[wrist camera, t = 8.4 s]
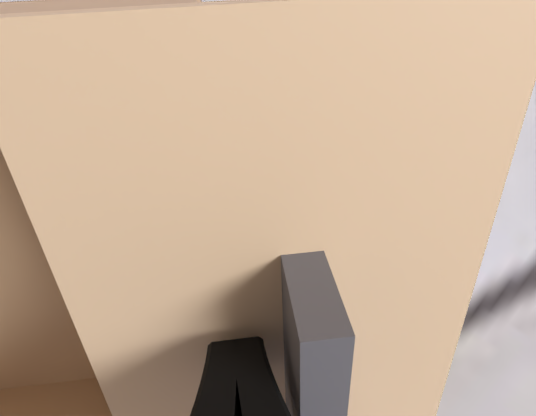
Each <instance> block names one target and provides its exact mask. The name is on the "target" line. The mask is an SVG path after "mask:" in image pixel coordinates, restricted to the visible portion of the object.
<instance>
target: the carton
mask: <svg viewBox="0 0 536 416" xmlns="http://www.w3.org/2000/svg"><path fill="white" fill-rule="evenodd" d="M194 2H201V0H34V1H17V2H0V14H7V13H24V12H41V11H58V10H75V9H92V8H109V7H126V6H143V5H160V4H177V3H194ZM0 416H112V414H111V412H110V409H109V407H108V404H107V402H106V400H105V397H104V395H103V392H102V390H101V388H100V385H99V383H98V380H97V378H96V376H95V373H94V371H93V369H92V366H91V364H90V361H89V359H88V357H87V354H86V352H85V349H84V347H83V345H82V342H81V340H80V337H79V335H78V333H77V330H76V328H75V325H74V323H73V321H72V318H71V316H70V314H69V311H68V309H67V306H66V304H65V302H64V299H63V297H62V294H61V292H60V290H59V287H58V285H57V282H56V280H55V278H54V275H53V273H52V270H51V268H50V266H49V263H48V261H47V259H46V256H45V254H44V251H43V249H42V247H41V244H40V242H39V239H38V237H37V235H36V232H35V230H34V227H33V225H32V223H31V220H30V218H29V215H28V213H27V211H26V208H25V206H24V204H23V201H22V199H21V196H20V194H19V192H18V189H17V187H16V184H15V182H14V180H13V177H12V175H11V172H10V170H9V168H8V165H7V163H6V160H5V158H4V156H3V153H2V151H1V149H0Z"/></svg>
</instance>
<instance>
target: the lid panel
mask: <svg viewBox="0 0 536 416" xmlns="http://www.w3.org/2000/svg"><path fill="white" fill-rule="evenodd" d="M535 81H536V0H227V1H210V2H194V3H177V4H160V5H143V6H126V7H109V8H92V9H75V10H58V11H41V12H24V13H7V14H0V149H1V151H2V153H3V156H4V158H5V160H6V163H7V165H8V168H9V170H10V172H11V175H12V177H13V180H14V182H15V184H16V187H17V189H18V192H19V194H20V196H21V199H22V201H23V204H24V206H25V208H26V211H27V213H28V215H29V218H30V220H31V223H32V225H33V227H34V230H35V232H36V235H37V237H38V239H39V242H40V244H41V247H42V249H43V251H44V254H45V256H46V259H47V261H48V263H49V266H50V268H51V270H52V273H53V275H54V278H55V280H56V282H57V285H58V287H59V290H60V292H61V294H62V297H63V299H64V302H65V304H66V306H67V309H68V311H69V314H70V316H71V318H72V321H73V323H74V325H75V328H76V330H77V333H78V335H79V337H80V340H81V342H82V345H83V347H84V349H85V352H86V354H87V357H88V359H89V361H90V364H91V366H92V369H93V371H94V373H95V376H96V378H97V380H98V383H99V385H100V388H101V390H102V392H103V395H104V397H105V400H106V402H107V404H108V407H109V409H110V412H111V414H112V416H190V414H191V411H192V408H193V405H194V402H195V399H196V395H197V392H198V388H199V385H200V381H201V377H202V373H203V369H204V365H205V360H206V355H207V348H208V345H209V344H210V343H211V342H215V341H223V340H231V339H240V338H248V337H256V336H259V337H261V338H262V339H263V341H264V346H265V350H266V354H267V357H268V360H269V364H270V366H271V369H272V372H273V375H274V377H275V380H276V382H277V385H278V387H279V390H280V392H281V394H282V397H283V399H284V401H285V403H286V405H287V407H288V410H289V412H290V414H291V416H436V414H437V410H438V407H439V403H440V400H441V397H442V393H443V390H444V387H445V383H446V380H447V377H448V373H449V370H450V366H451V363H452V360H453V356H454V353H455V350H456V346H457V343H458V340H459V336H460V333H461V329H462V326H463V323H464V319H465V316H466V313H467V309H468V306H469V303H470V299H471V296H472V292H473V289H474V286H475V282H476V279H477V276H478V272H479V269H480V266H481V262H482V259H483V255H484V252H485V249H486V245H487V242H488V239H489V235H490V232H491V229H492V225H493V222H494V218H495V215H496V212H497V208H498V205H499V202H500V198H501V195H502V192H503V188H504V185H505V181H506V178H507V175H508V171H509V168H510V165H511V161H512V158H513V155H514V151H515V148H516V144H517V141H518V138H519V134H520V131H521V128H522V124H523V121H524V118H525V114H526V111H527V107H528V104H529V101H530V97H531V94H532V91H533V87H534V84H535Z"/></svg>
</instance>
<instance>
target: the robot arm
mask: <svg viewBox="0 0 536 416" xmlns="http://www.w3.org/2000/svg"><path fill="white" fill-rule="evenodd" d="M190 416H291V414H290V412H289V410H288V407H287V405H286V403H285V401H284V399H283V397H282V394H281V392H280V390H279V387H278V385H277V382H276V380H275V377H274V375H273V372H272V369H271V366H270V364H269V360H268V357H267V354H266V350H265V346H264V341H263V339H262V338H261V337H259V336H256V337H248V338H240V339H231V340H223V341H215V342H211V343H210V344H209V345H208V348H207V355H206V360H205V365H204V369H203V373H202V377H201V381H200V385H199V388H198V392H197V395H196V399H195V402H194V405H193V408H192V411H191V414H190Z"/></svg>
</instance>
